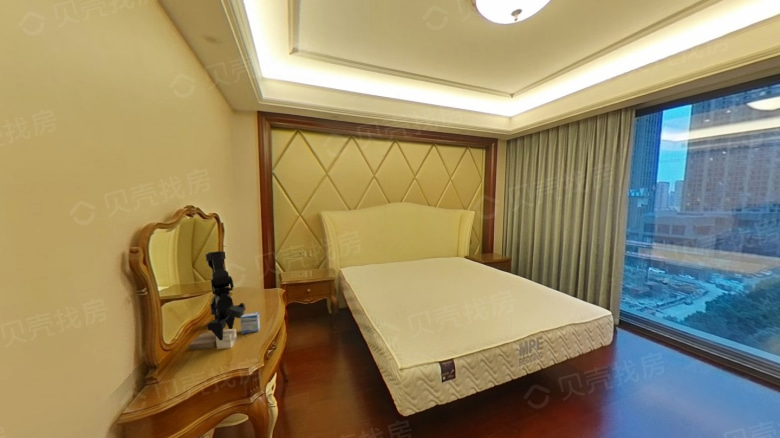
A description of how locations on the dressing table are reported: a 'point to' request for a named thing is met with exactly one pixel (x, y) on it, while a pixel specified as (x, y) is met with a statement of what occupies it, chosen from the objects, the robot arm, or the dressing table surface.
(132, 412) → the dressing table surface
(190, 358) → the dressing table surface
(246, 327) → the medicine box
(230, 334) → the maple cube
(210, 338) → the walnut block
